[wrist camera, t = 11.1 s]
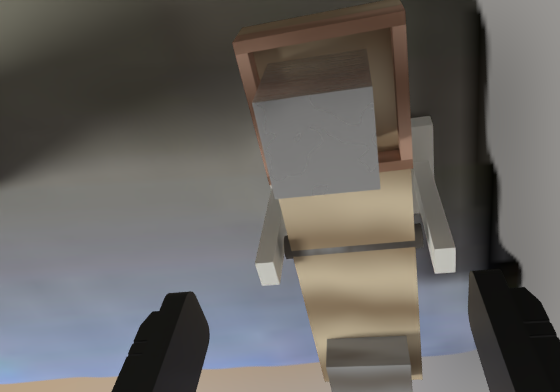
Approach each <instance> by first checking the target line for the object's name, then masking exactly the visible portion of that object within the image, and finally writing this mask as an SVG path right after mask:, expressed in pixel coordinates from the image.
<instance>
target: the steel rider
mask: <svg viewBox="0 0 560 392" xmlns="http://www.w3.org/2000/svg"><path fill="white" fill-rule="evenodd" d="M252 105H253V110H254V114H255V118H256V122H257V126H258V131H259V135H260V139H261V143H262V147H263V152H264V156H265V160H266V164H267V168H268V173H269V177H270V181H271V185H272V189H273V194H274V198H275V199H284V198H294V197H305V196H315V195H326V194H337V193H347V192H358V191H368V190H379V189H381V188H380V176H379V163H378V150H377V138H376V125H375V112H374V100H373V87H372V80H371V74H370V68H369V62H368V55H367V49H359V50H353V51H346V52H340V53H334V54H327V55H321V56H314V57H308V58H301V59H295V60H289V61H282V62H276V63H269V64H267V66H266V69H265V71H264V74H263V76H262V79H261V81H260V84H259V86H258V89H257V91H256V94H255V97H254V99H253V102H252Z"/></svg>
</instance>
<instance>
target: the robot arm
mask: <svg viewBox="0 0 560 392" xmlns="http://www.w3.org/2000/svg"><path fill="white" fill-rule="evenodd" d="M468 315H469V322H470V327H471V331H472V334H473V338H474V341H475V344H476V347H477V351H478V354H479V357H480V360H481V364H482V367H483V370H484V374H485V377H486V380H487V384H488V387H489V390H490V392H560V340H559V338H557V336H556V332H555V330H554V328H553V326H552V324H551V323H550V322H549V318H548V316H547V314H546V312H545V310H544V308H543V305H542V303H541V302H540V301H539V300H538V299H537V298H536V297H535V296H534V295H533V294H531V293H530V292H529V291H528V290H527V289H526V288H525V287H521V288H509V287H508V285H507V282H506V280H505V278H504V275H503V273H502V271H501V270H500V269H491V270H478V271H470V273H469V296H468ZM209 336H210V334H209V326H208V323H207V320H206V318H205V316H204V314H203V311H202V309H201V307H200V305H199V302H198V300H197V298H196V296H195V294H194V293H193V292H179V293H168V294H167V295H166V296H165V298H164V301H163V303H162V306H161V308H160V311H155V312H152V313H151V314H150V315H149V316H148V317H147V318H146V320H145V321H144V322H143V323H142V324H141V325H140V327H139V330H138V332H137V334H136V337H135V339H134V344H132V346H131V348H130V350H129V353H128V357H126V360H125V362H124V364H123V367H122V369H121V371H120V373H119V376H118V378H117V380H116V383H115V385H114V387H113V390H112V392H196V389H197V385H198V382H199V378H200V374H201V370H202V367H203V363H204V359H205V356H206V352H207V348H208V344H209Z"/></svg>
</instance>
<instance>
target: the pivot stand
mask: <svg viewBox="0 0 560 392" xmlns="http://www.w3.org/2000/svg"><path fill="white" fill-rule="evenodd" d="M411 133H412V152H413V169H411V176H412V195H413V213H414V214H417V213H420V214H421V218H422V222H423V227H424V231H425V235H426V239H427V243H428V247H429V251H430V256H431V260H432V264H433V268H434V272H435V274H437V273H452V272H455V267H456V247H455V244H454V241H453V237H452V234H451V231H450V228H449V225H448V221H447V218H446V215H445V212H444V209H443V206H442V202H441V199H440V196H439V193H438V190H437V187H436V183H435V180H434V148H433V123H432V121H431V118H430V116H424V117H416V118H411ZM270 186H271V193H270V198H269V202H268V207H267V211H266V216H265V220H264V225H263V229H262V234H261V239H260V243H259V248H258V252H257V257H256V261H255V265H256V268H257V271H258V275H259V278H260V281H261V284H262V286H264V285H279V284H280V279H281V272H282V265H283V258H284V236H287V231H286V227H285V223H284V219H283V215H282V211H281V207H280V203H279V199H275V198H274V194H273V189H272V185H270Z"/></svg>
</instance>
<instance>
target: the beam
mask: <svg viewBox="0 0 560 392" xmlns="http://www.w3.org/2000/svg"><path fill="white" fill-rule="evenodd" d="M232 44H233V48H234V52H235V55H236V59H237V63H238V67H239V71H240V75H241V78H242V82H243V86H244V90H245V94H246V97H247V101H248V105H249V109H250V113H251V116H252V120H253V124H254V128H255V132H256V136H257V139H258V143H259V147H260V151H261V155H262V158H263V162H264V166H265V170H266V174H267V177H268V181H269V185H271V181H270V177H269V173H268V168H267V164H266V160H265V156H264V152H263V147H262V143H261V139H260V135H259V131H258V126H257V122H256V118H255V114H254V110H253V105H252V102H253V99H254V97H255V94H256V91H257V89H258V86H259V84H260V81H261V79H262V76H263V74H264V71H265V69H266V66H267V64H269V63H276V62H282V61H289V60H295V59H301V58H308V57H314V56H321V55H327V54H334V53H340V52H346V51H353V50H359V49H367V55H368V62H369V68H370V74H371V80H372V87H373V100H374V112H375V125H376V138H377V150H378V163H379V176H380V188H381V189H379V190H368V191H358V192H347V193H337V194H326V195H315V196H305V197H294V198H284V199H279V203H280V207H281V211H282V215H283V219H284V223H285V227H286V231H287V236H284V252H285V256H286V259H292V258H294V262H295V266H296V270H297V274H298V278H299V282H300V286H301V290H302V294H303V298H304V302H305V306H306V309H307V313H308V317H309V321H310V325H311V329H312V333H313V337H314V341H315V345H316V349H317V353H318V357H319V361H320V364H321V368H322V372H323V376H324V380H325V382H330V385H331V389H332V392H413V391H412V380H421V379H422V361H421V342H420V324H419V305H418V287H417V268H416V250H415V249H416V248H423V234H422V228H421V224H420V223H418V224H414V213H413V195H412V176H411V169H413V152H412V133H411V113H410V94H409V74H408V54H407V35H406V15H405V9H404V7H403V5H402V3H401V1H400V0H384V1H378V2H373V3H368V4H363V5H358V6H352V7H347V8H342V9H337V10H332V11H326V12H321V13H316V14H311V15H306V16H301V17H295V18H290V19H285V20H280V21H275V22H269V23H264V24H259V25H254V26H249V27H243V28H242V29H241V30H240V32H239V33H238V35H237V36H236V38H235V39H234V41H233V42H232Z"/></svg>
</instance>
